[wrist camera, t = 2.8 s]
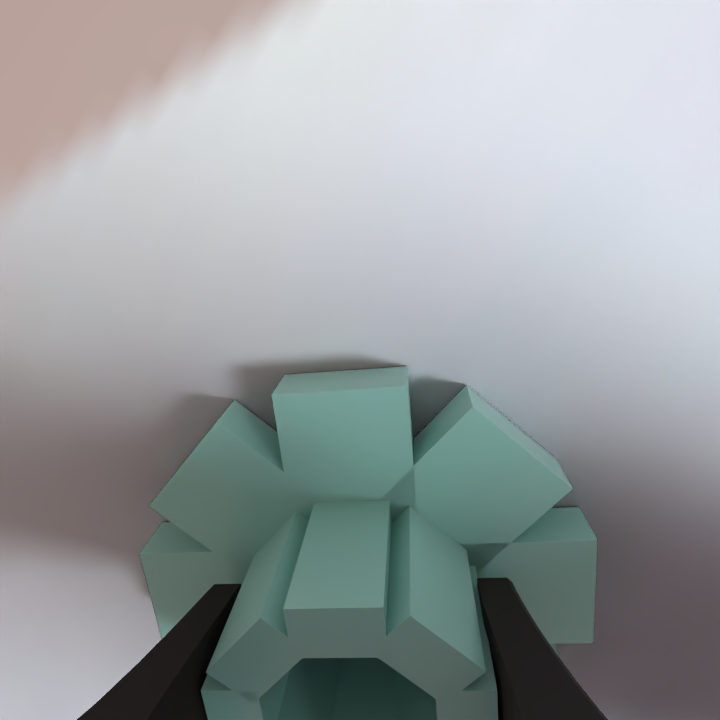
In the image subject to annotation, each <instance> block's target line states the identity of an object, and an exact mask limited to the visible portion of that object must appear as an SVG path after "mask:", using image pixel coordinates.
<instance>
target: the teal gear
mask: <svg viewBox="0 0 720 720" xmlns="http://www.w3.org/2000/svg"><path fill="white" fill-rule="evenodd" d="M271 396H272V402H273V408H274V414H275V420H276V427H277V431H275V430H274V429H273V428H271V427H270V426H269V425H267V424H266V423H265V422H264V421H262V420H261V419H260V418H258V417H257V416H256V415H254V414H253V413H252V412H250V411H249V410H248V409H246V408H245V407H244V406H243V405H241V404H240V403H239V402H237V401H236V400H235V399H234V401H233V402H232V403H231V404H230V406H229V407H228V408H227V409H226V411H225V412H224V413H223V414H222V415H221V417H220V418H219V419H218V420H217V422H216V423H215V424H214V425H213V427H212V428H211V429H210V430H209V432H208V433H207V434H206V435H205V437H204V438H203V439H202V440H201V442H200V443H199V444H198V445H197V447H196V448H195V449H194V450H193V451H192V453H191V454H190V455H189V456H188V458H187V459H186V460H185V461H184V463H183V464H182V465H181V466H180V468H179V469H178V470H177V471H176V473H175V474H174V475H173V476H172V478H171V479H170V480H169V481H168V482H167V484H166V485H165V486H164V487H163V489H162V490H161V491H160V492H159V494H158V495H157V496H156V497H155V499H154V500H153V501H152V502H151V504H150V505H149V507H150V508H152V509H153V510H155V511H156V512H157V513H159V514H160V515H162V516H163V517H164V518H166V519H167V520H169V521H170V522H162V523H161V524H160V526H159V527H158V529H157V530H156V531H155V533H154V534H153V535H152V537H151V538H150V540H149V541H148V542H147V544H146V545H145V546H144V548H143V549H142V551H141V552H140V553H139V556H140V560H141V563H142V567H143V571H144V574H145V578H146V582H147V586H148V589H149V593H150V597H151V601H152V604H153V608H154V612H155V616H156V619H157V623H158V627H159V631H160V634H161V638H162V639H163V638H164V637H165V636H166V634H167V633H168V632H169V631H170V630H171V629H172V628H173V627H174V626H175V625H176V624H177V623H178V622H179V621H180V620H181V619H182V618H183V617H184V615H185V614H186V613H187V612H188V611H189V610H190V609H191V608H192V607H193V606H194V605H195V604H196V603H197V602H198V601H199V600H200V599H201V598H202V596H203V595H204V594H205V593H206V592H207V591H208V590H209V589H210V588H211V587H212V586H213V585H214V584H241V588H240V591H239V593H238V596H237V598H236V601H235V603H234V605H233V608H232V610H231V613H230V615H229V617H228V620H227V622H226V625H225V627H224V630H223V632H222V634H221V637H220V639H219V642H218V644H217V646H216V649H215V651H214V654H213V656H212V658H211V661H210V663H209V666H208V668H207V671H206V673H207V677H206V679H205V681H204V684H203V686H202V689H201V694H202V698H203V702H204V706H205V710H206V714H207V718H208V720H498V697H497V686H496V680H495V675H494V669H493V663H492V658H491V652H490V646H489V641H488V637H487V634H486V630H485V627H484V623H483V617H482V611H481V605H480V599H479V594H478V588H477V578H506V577H507V578H508V579H509V580H510V581H512V583H513V585H514V587H515V589H516V591H517V592H518V594H519V596H520V598H521V600H522V601H523V603H524V605H525V607H526V608H527V610H528V612H529V613H530V615H531V616H532V618H533V620H534V621H535V623H536V624H537V626H538V627H539V629H540V631H541V632H542V634H543V635H544V637H545V638H546V640H547V641H548V642H549V644H550V645H551V647H552V648H553V649H554V651H555V652H556V654H557V655H558V652H557V649H556V645H555V644H582V643H593V637H594V612H595V587H596V563H597V539H596V537H595V535H594V533H593V531H592V529H591V527H590V525H589V523H588V522H587V520H586V518H585V516H584V514H583V512H582V510H581V508H580V507H567V508H552V507H553V506H554V505H555V504H556V503H557V502H559V501H560V500H561V499H562V498H563V497H564V496H566V495H567V494H568V493H569V492H570V491H571V490H572V489H573V488H572V486H571V484H570V483H569V481H568V479H567V477H566V475H565V473H564V471H563V470H562V468H561V466H560V464H559V462H558V460H557V459H556V458H554V457H553V456H552V455H551V454H550V453H548V452H547V451H546V450H545V449H544V448H542V447H541V446H540V445H539V444H537V443H536V442H535V441H534V440H533V439H531V438H530V437H529V436H528V435H527V434H525V433H524V432H523V431H522V430H521V429H519V428H518V427H517V426H516V425H514V424H513V423H512V422H511V421H510V420H508V419H507V418H506V417H505V416H504V415H502V414H501V413H500V412H499V411H498V410H496V409H495V408H494V407H493V406H491V405H490V404H489V403H488V402H487V401H485V400H484V399H483V398H482V397H481V396H479V395H478V394H477V393H476V392H475V391H473V390H472V389H471V388H470V387H469V386H467V385H466V386H465V387H464V388H463V389H462V390H461V391H460V392H459V393H458V394H457V395H456V396H455V397H454V398H453V399H452V400H451V401H450V402H449V403H448V404H447V405H446V406H445V407H444V408H443V409H442V410H441V411H440V412H439V413H438V415H437V416H436V417H435V418H434V419H433V420H432V421H431V422H430V423H429V424H428V425H427V426H426V427H425V428H424V429H423V430H422V431H421V432H420V433H419V434H418V435H417V436H416V437H415V438H414V439H413V433H412V420H411V407H410V394H409V381H408V368H407V366H404V367H389V368H374V369H359V370H344V371H330V372H315V373H300V374H285V375H284V376H283V378H282V379H281V381H280V382H279V384H278V385H277V387H276V388H275V390H274V392H273V393H272V395H271ZM558 657H559V655H558Z"/></svg>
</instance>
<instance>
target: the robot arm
mask: <svg viewBox="0 0 720 720" xmlns="http://www.w3.org/2000/svg"><path fill="white" fill-rule="evenodd" d="M240 588H241V584H214V585H213V586H212V587H211V588H210V589H209V590H208V591H207V592H206V593H205V594H204V595H203V596H202V598H201V599H200V600H199V601H198V602H197V603H196V604H195V605H194V606H193V607H192V608H191V609H190V610H189V611H188V612H187V613H186V614H185V615H184V617H183V618H182V619H181V620H180V621H179V622H178V623H177V624H176V625H175V626H174V627H173V628H172V629H171V630H170V631H169V632H168V633H167V634H166V636H165V637H164V638H163V639H162V640H161V641H160V642H159V643H158V644H157V645H156V646H155V647H154V648H153V649H152V650H151V651H150V652H149V653H148V654H147V655H146V656H145V657H144V658H143V659H142V660H141V661H140V662H139V663H138V664H137V665H136V666H135V667H134V668H133V669H132V670H131V671H130V672H129V673H127V674H126V675H125V676H124V677H123V678H122V679H121V680H120V681H119V682H118V683H117V684H116V685H115V686H114V687H113V688H112V689H111V690H110V691H109V692H107V693H106V694H105V695H104V696H103V697H102V698H101V699H100V700H99V701H98V702H97V703H96V704H94V705H93V706H92V707H91V708H90V709H89V710H88V711H86V712H85V713H84V714H83V715H82V716H81V717H80V718H78V719H77V720H208V718H207V714H206V710H205V706H204V702H203V698H202V694H201V689H202V686H203V684H204V681H205V679H206V677H207V673H206V671H207V668H208V666H209V663H210V661H211V658H212V656H213V654H214V651H215V649H216V646H217V644H218V642H219V639H220V637H221V634H222V632H223V630H224V627H225V625H226V622H227V620H228V617H229V615H230V613H231V610H232V608H233V605H234V603H235V601H236V598H237V596H238V593H239V591H240ZM477 588H478V594H479V599H480V605H481V611H482V617H483V623H484V627H485V630H486V634H487V637H488V641H489V646H490V652H491V658H492V663H493V669H494V675H495V680H496V686H497V697H498V720H608V719H607V718H606V717H605V716H604V715H603V713H602V712H601V711H600V710H599V709H598V707H597V706H596V705H595V704H594V703H593V701H592V700H591V699H590V697H589V696H588V695H587V694H586V692H585V691H584V690H583V689H582V687H581V686H580V685H579V684H578V682H577V681H576V680H575V678H574V677H573V676H572V674H571V673H570V672H569V670H568V669H567V668H566V666H565V665H564V664H563V662H562V661H561V659H560V658H559V657H558V655H557V654H556V652H555V651H554V649H553V648H552V647H551V645H550V644H549V642H548V641H547V640H546V638H545V637H544V635H543V634H542V632H541V631H540V629H539V627H538V626H537V624H536V623H535V621H534V620H533V618H532V616H531V615H530V613H529V612H528V610H527V608H526V607H525V605H524V603H523V601H522V600H521V598H520V596H519V594H518V592H517V591H516V589H515V587H514V585H513V583H512V581H510V580H509V579H508V578H507V577H506V578H477Z"/></svg>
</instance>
